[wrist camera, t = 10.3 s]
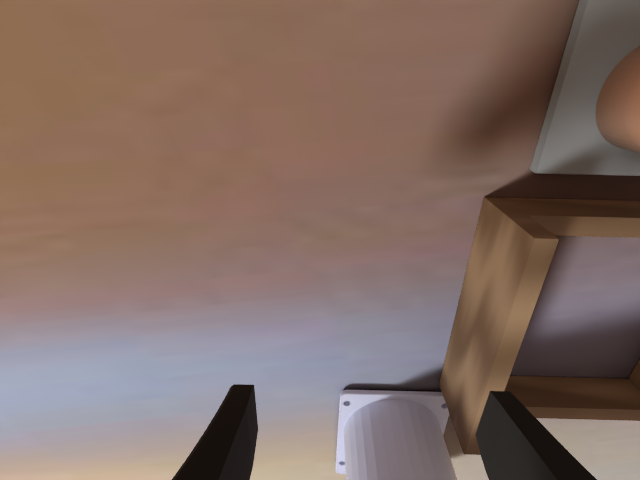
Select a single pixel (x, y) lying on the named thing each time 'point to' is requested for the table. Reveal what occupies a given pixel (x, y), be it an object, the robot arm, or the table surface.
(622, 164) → the slate coaster
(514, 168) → the table surface
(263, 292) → the table surface
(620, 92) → the flower pot
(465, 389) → the frame
